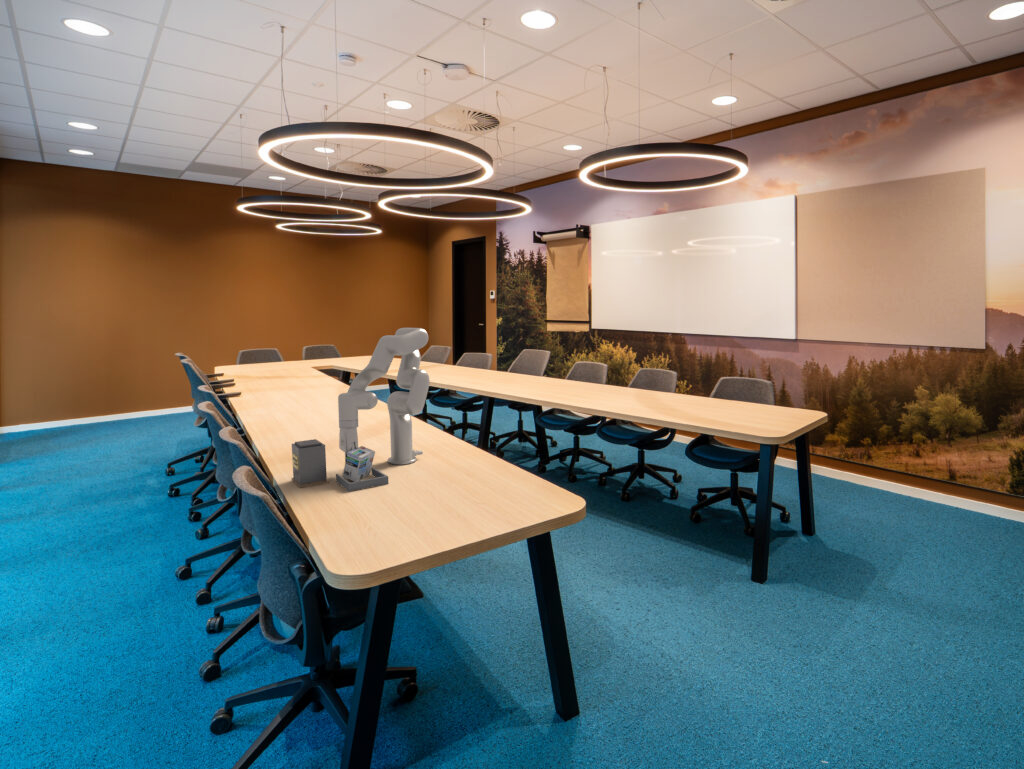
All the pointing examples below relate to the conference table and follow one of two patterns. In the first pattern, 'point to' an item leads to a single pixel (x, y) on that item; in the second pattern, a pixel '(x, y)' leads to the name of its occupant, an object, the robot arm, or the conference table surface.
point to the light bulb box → (358, 463)
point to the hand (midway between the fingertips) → (350, 467)
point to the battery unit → (309, 463)
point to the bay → (364, 481)
